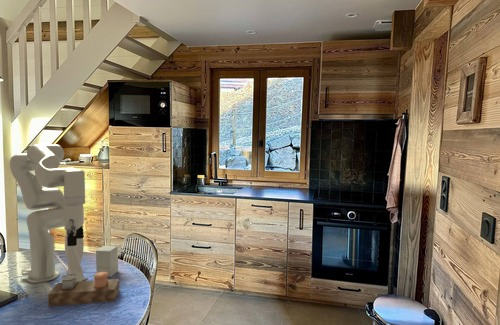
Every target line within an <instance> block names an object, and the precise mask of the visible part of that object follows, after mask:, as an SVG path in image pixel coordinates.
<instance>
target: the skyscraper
mask: <svg viewBox="0 0 500 325" xmlns="http://www.w3.org/2000/svg"><path fill="white" fill-rule="evenodd" d="M73 232H74V230H73ZM64 237H65V238H64V253H65V260H66V264H67V266H68V267H67V271H66V275H67V274H76V275H77V278H76V282H78V281H87V280H88V277H85V276H84V273H83V272H84V271H83V269H82V266H81V263H82V260H83V255H84V249H85V248H84V246H85V245H84V242H85V241H84V237H83V238H80V239H77V245H76V246H67V230H65V236H64Z"/></svg>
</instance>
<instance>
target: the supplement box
mask: <svg viewBox="0 0 500 325" xmlns="http://www.w3.org/2000/svg"><path fill="white" fill-rule="evenodd" d="M118 250H119V248H118V245H102V246H101V247H99V248H97V249H96V250H95V263H96V264H95V265H96V267H95V268H96V273H98V272H108V277H109V278H111V277H112V276H114V275H115V274H117V273H118V272H119V253H118V252H119V251H118Z"/></svg>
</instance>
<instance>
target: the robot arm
mask: <svg viewBox="0 0 500 325" xmlns="http://www.w3.org/2000/svg"><path fill="white" fill-rule="evenodd" d="M64 157H65V152H64V149H63V147H62V146H61V145H60V144H56V143H53V144H52V143H50V144H49V143H41V144H40V143H36V144H33V145H30V146H29V147H28V148H27V149H26V153H25V152H24V153H17V154H15V155H12V156H11V157H10V159H9V169H10V173H11V175H12V176H13V178H14V179H15V181H16V183H17V184H18V186H19V189H20V191H21V192H20V193H21V195H22V199H23V202H24V205H25V207H26V208H27V209H28V210H31V211H33V212H31V213H29V214H28V215H27V217H26V226H27V230H28V236H29V251H30V252H29V254H30V256H29V257H30V268H29V269H27V268H25V269H22V270H21V275H22V276H27V278H26V281H27V282H28V283H31V284H39V283H46V282H50V281H52V280H54V279H56V278H58V277H60V276H59V275H60V271H59V270H56V258H55V255H56V252H55V237H54V236H53V235H52V234H51V233H50V232H49V231H50V230H55V229H58V228H59V229H60V228H64V231H66V230H67V246H76V245H77V239H80V238H83V239H84V234H85V233H84V222H85V215H84V214H85V212H84V205H85V204H86V188H85V187H86V182H85V179H86V178H85V177H86V176H85V171H84V170H83V169H77V168H75V167H60V164H61V162H62V161H63V160H64ZM59 167H60V168H59ZM32 171H34V173H32ZM59 187H63V191H62V190H61V189H59ZM73 230H74V232H73Z"/></svg>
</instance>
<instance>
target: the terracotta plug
mask: <svg viewBox="0 0 500 325" xmlns="http://www.w3.org/2000/svg"><path fill="white" fill-rule="evenodd" d="M93 278H94V280H95V288H101V287H107V285H108V280H109V279H108V272H98V273H97V272H96V273H95V274H94V275H93Z"/></svg>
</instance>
